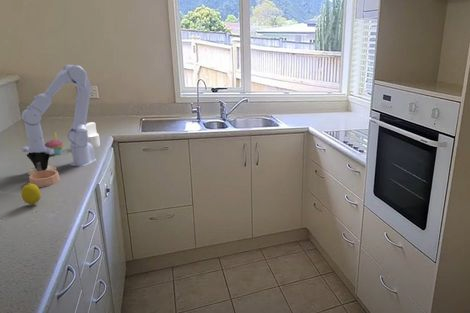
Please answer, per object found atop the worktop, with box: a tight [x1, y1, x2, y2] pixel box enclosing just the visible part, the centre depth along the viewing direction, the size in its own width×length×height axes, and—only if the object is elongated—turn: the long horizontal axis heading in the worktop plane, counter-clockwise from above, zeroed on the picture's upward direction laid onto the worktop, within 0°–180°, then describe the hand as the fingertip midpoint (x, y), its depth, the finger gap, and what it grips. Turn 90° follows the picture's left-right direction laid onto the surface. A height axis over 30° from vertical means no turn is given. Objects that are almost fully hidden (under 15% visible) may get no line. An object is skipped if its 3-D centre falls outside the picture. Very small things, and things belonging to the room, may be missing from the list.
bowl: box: [28, 170, 60, 188], centre depth 133 cm, size 10×10×4 cm
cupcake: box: [45, 129, 64, 156], centre depth 167 cm, size 9×8×12 cm
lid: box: [26, 162, 57, 177], centre depth 143 cm, size 11×11×4 cm
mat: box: [20, 166, 64, 177], centre depth 144 cm, size 12×12×1 cm
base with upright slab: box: [86, 121, 101, 149], centre depth 180 cm, size 9×9×12 cm
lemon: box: [21, 182, 42, 206], centre depth 114 cm, size 6×6×8 cm
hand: (41, 168), depth 144 cm, fingers open, 3 cm apart
